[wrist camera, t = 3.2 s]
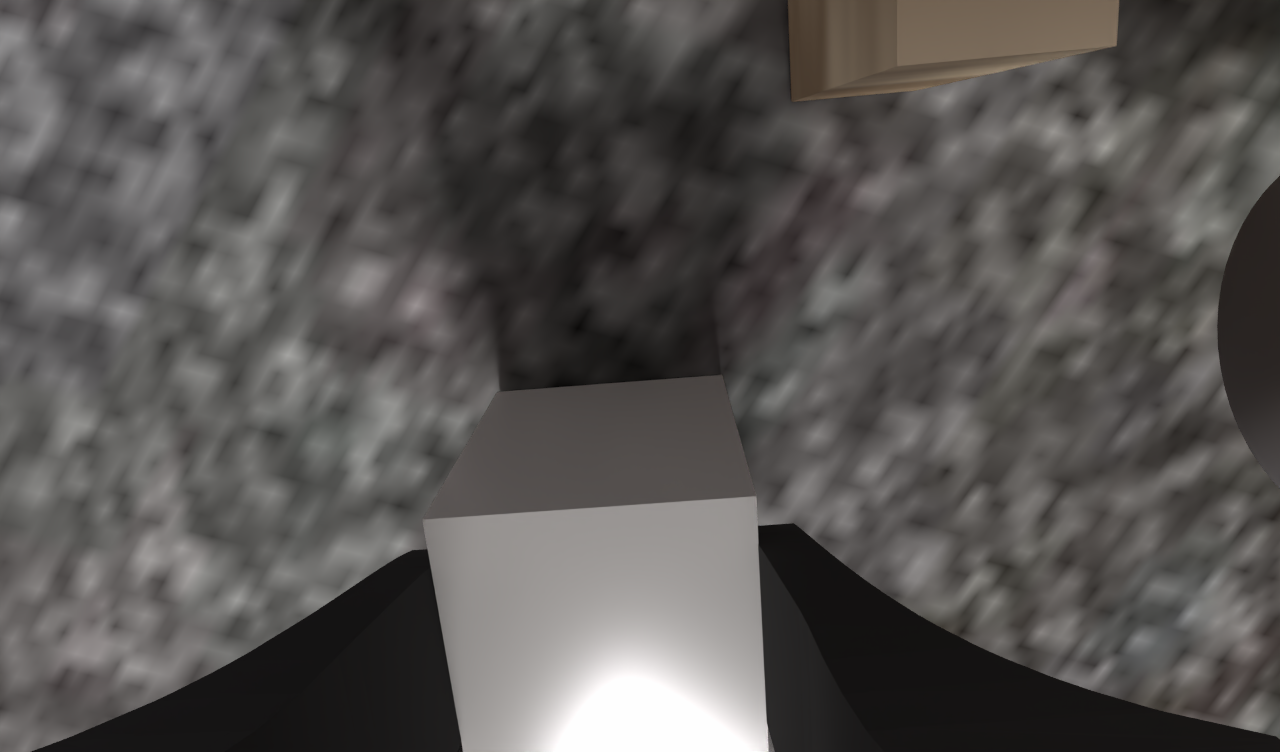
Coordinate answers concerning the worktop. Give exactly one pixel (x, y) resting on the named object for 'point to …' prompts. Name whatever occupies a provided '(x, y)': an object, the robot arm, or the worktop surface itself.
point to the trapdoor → (1254, 330)
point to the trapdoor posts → (933, 41)
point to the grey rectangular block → (603, 573)
